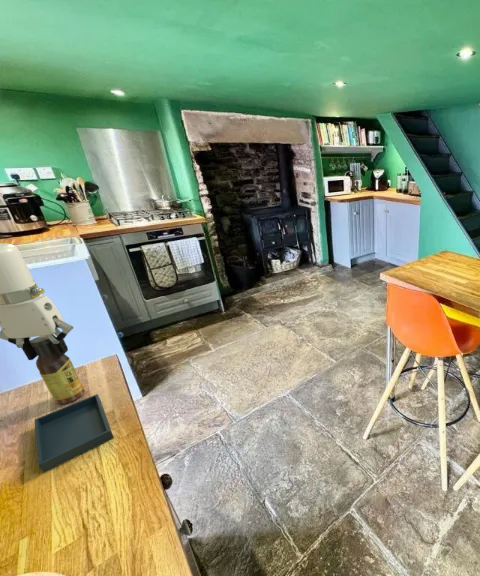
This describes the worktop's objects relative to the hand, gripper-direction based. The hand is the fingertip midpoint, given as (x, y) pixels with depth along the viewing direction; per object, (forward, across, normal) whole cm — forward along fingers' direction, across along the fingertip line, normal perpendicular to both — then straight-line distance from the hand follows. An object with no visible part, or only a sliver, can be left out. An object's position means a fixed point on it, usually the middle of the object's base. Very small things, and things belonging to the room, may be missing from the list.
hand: (48, 354), depth 81 cm
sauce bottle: (+15, 0, 0) cm, 15 cm away
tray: (+15, -9, +15) cm, 23 cm away
